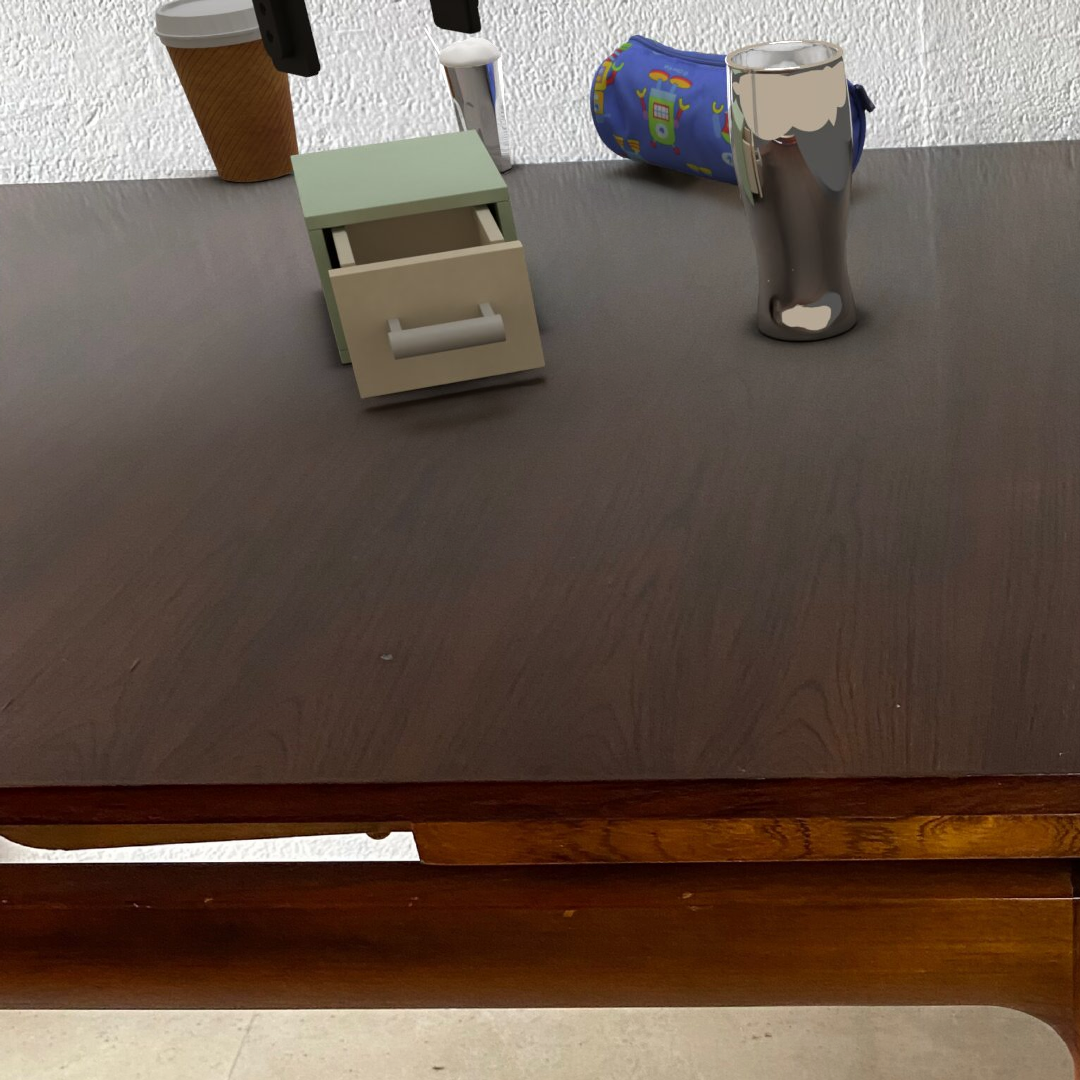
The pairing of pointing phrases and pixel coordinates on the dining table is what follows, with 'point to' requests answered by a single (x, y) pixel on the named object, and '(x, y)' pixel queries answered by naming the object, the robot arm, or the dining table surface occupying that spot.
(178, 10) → the disposable coffee cup
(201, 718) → the dining table surface
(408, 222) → the drawer
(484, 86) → the milkshake
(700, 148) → the pencil case
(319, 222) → the cabinet
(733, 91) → the beer glass
